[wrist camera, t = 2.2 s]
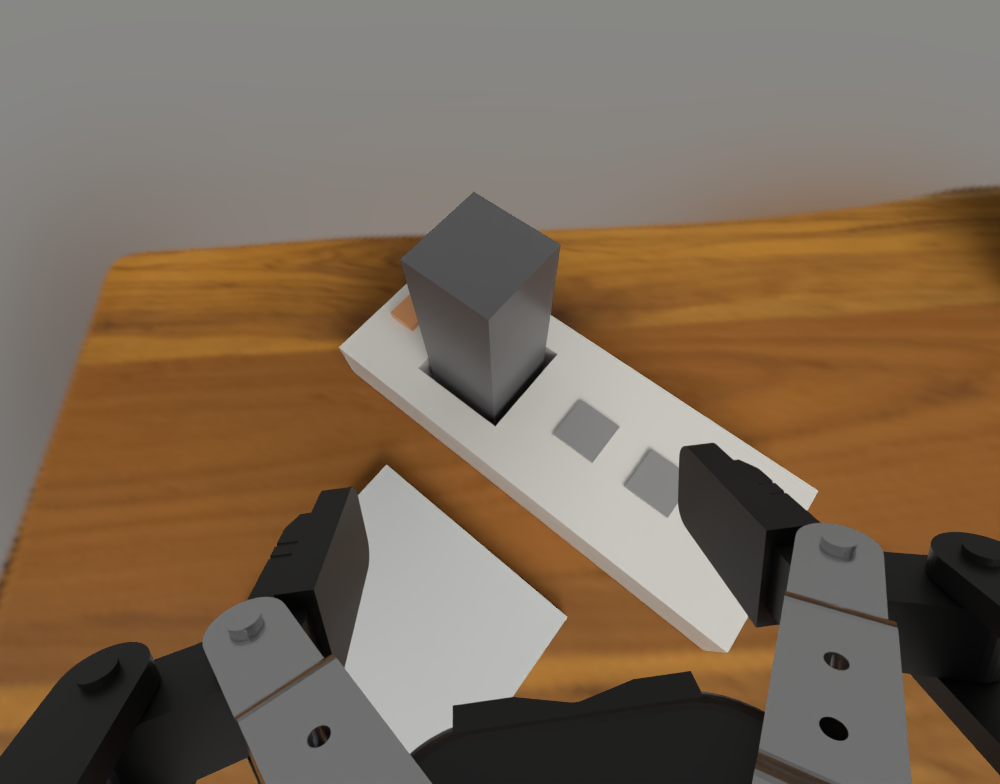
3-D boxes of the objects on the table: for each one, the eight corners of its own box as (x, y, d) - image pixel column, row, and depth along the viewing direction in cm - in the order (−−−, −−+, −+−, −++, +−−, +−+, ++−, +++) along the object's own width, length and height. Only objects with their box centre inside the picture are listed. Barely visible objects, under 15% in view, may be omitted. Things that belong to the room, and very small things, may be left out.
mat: (390, 469, 29) (386, 464, 28) (565, 617, 25) (567, 617, 24) (249, 622, 25) (240, 622, 25) (429, 813, 22) (426, 821, 21)
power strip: (451, 276, 34) (445, 241, 31) (787, 504, 28) (822, 488, 24) (353, 371, 31) (336, 343, 28) (703, 649, 25) (731, 653, 22)
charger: (484, 340, 32) (473, 192, 21) (541, 379, 31) (560, 244, 20) (437, 389, 31) (399, 259, 20) (494, 433, 29) (488, 320, 19)
